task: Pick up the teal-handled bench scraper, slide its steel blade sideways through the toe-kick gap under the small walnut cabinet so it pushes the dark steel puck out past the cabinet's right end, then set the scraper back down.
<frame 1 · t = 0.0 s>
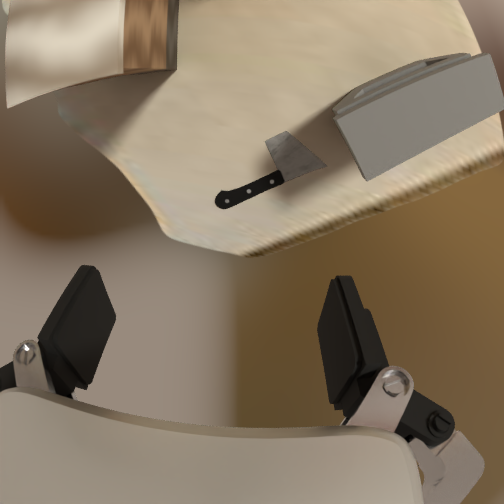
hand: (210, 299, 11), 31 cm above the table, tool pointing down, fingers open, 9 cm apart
cabinet: (136, 21, 26), on the table
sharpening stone: (397, 96, 32), on the table
cleaver: (298, 148, 38), on the table
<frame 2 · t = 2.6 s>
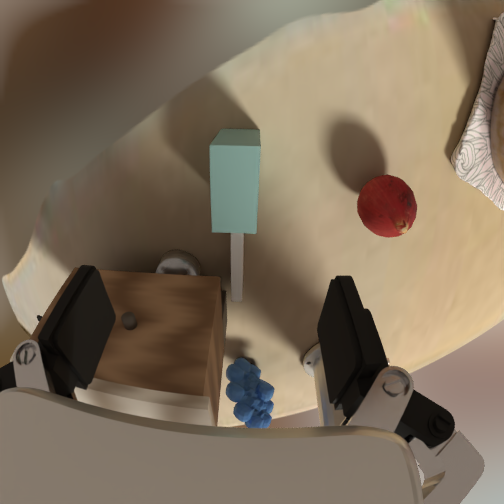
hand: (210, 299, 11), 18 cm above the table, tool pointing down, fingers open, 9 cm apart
cabinet: (160, 284, 35), on the table
onion: (373, 189, 27), on the table
steel puck: (180, 266, 33), on the table
grapes: (255, 362, 45), on the table
scraper: (239, 164, 26), on the table
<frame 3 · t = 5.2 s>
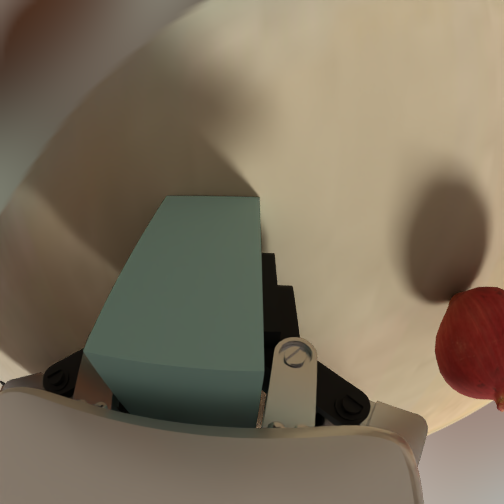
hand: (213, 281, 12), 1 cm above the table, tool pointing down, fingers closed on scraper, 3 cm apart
onion: (455, 293, 14), on the table
scraper: (215, 270, 12), on the table, touching gripper
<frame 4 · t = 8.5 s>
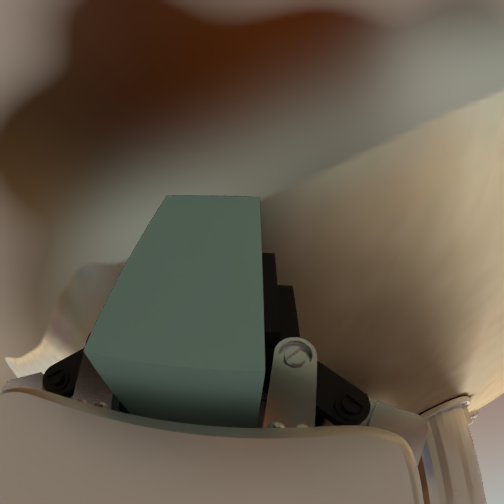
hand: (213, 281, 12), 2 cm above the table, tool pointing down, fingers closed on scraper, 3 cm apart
cabinet: (280, 398, 22), on the table
scraper: (215, 270, 12), point 1 cm above the table, touching gripper
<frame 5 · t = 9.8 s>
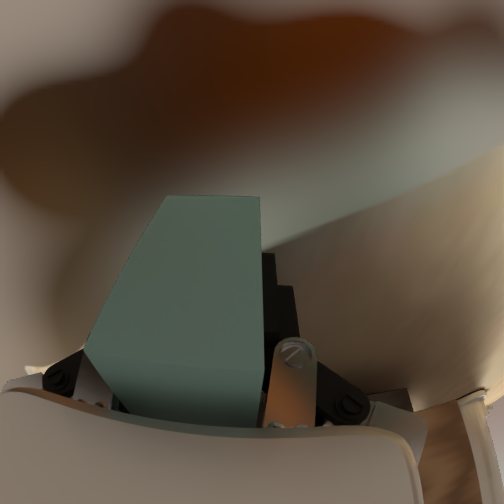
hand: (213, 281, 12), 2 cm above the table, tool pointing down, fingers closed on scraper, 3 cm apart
cabinet: (331, 397, 22), on the table
scraper: (215, 269, 12), point 1 cm above the table, touching gripper
when the fingers open (1 cm above the table, at t = 12.3 s): scraper stays where it is, on the table.
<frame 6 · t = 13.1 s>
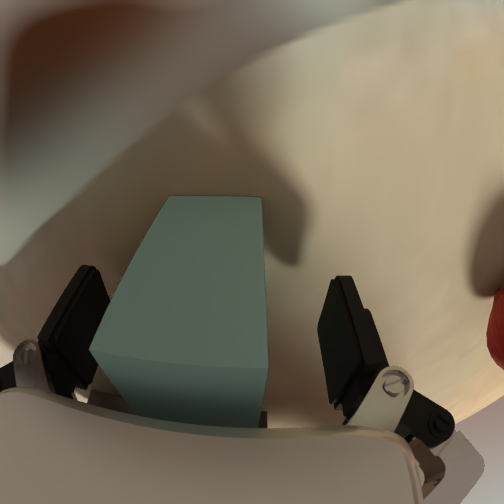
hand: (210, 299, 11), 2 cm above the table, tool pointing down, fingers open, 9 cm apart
cabinet: (170, 403, 21), on the table
onion: (497, 289, 14), on the table
scraper: (217, 269, 12), on the table
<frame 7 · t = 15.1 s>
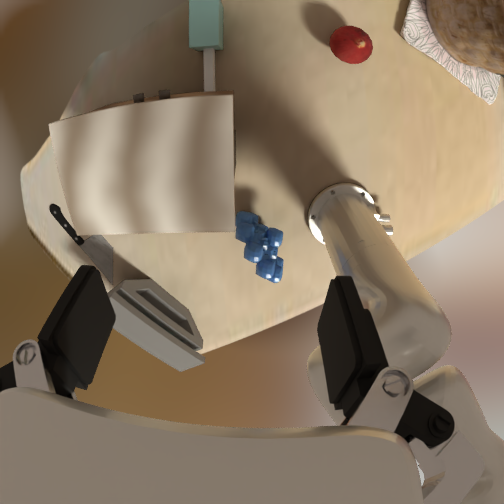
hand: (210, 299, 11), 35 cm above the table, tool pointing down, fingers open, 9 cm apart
cabinet: (179, 129, 39), on the table
onion: (342, 46, 31), on the table
grapes: (262, 222, 49), on the table
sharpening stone: (159, 301, 61), on the table
scraper: (210, 28, 29), on the table
cleaver: (101, 250, 52), on the table
cookie jar: (461, 23, 24), on the table
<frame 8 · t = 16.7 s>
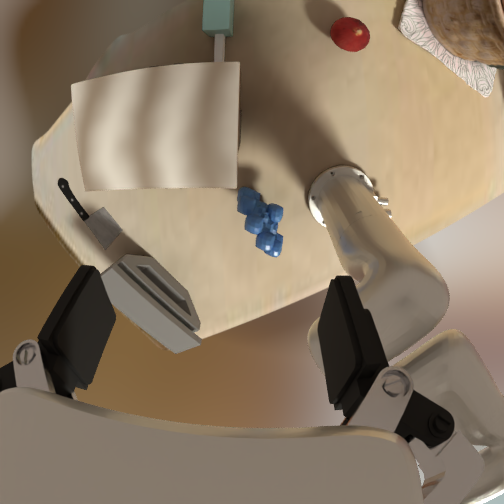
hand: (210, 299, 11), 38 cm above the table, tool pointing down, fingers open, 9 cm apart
cabinet: (188, 107, 40), on the table
onion: (342, 37, 32), on the table
grapes: (264, 201, 50), on the table
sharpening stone: (159, 281, 62), on the table
scraper: (222, 17, 31), on the table
cleaver: (105, 225, 54), on the table
cookie jar: (456, 21, 26), on the table
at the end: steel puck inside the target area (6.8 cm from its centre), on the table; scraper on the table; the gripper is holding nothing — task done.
